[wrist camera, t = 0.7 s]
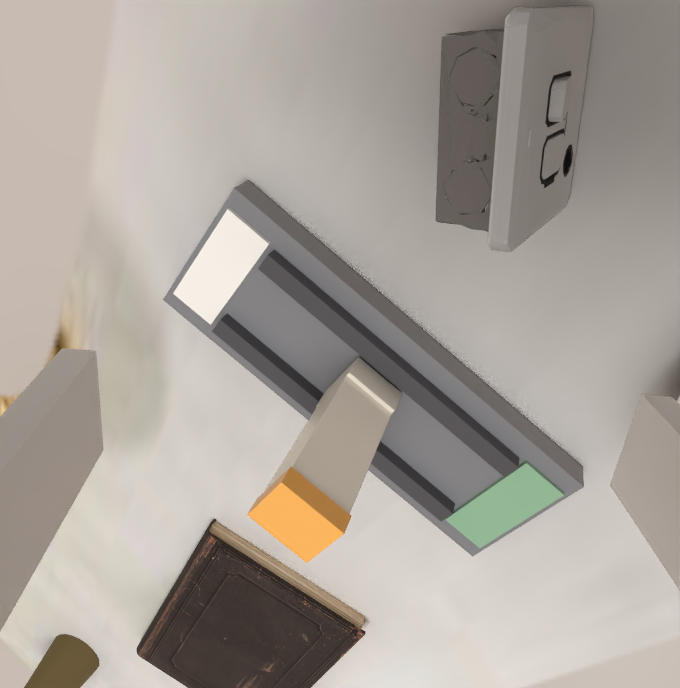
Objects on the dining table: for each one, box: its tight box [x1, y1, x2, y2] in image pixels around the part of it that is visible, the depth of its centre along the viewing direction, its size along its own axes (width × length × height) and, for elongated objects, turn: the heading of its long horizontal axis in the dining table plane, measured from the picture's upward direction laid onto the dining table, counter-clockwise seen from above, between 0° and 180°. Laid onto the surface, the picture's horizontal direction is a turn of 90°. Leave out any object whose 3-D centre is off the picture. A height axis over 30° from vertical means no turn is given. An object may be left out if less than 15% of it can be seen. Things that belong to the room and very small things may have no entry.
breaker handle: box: [247, 357, 402, 563], centre depth 34 cm, size 4×4×12 cm
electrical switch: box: [436, 6, 594, 252], centre depth 28 cm, size 9×5×9 cm, turn 2°
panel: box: [163, 180, 584, 556], centre depth 40 cm, size 10×28×3 cm, turn 53°
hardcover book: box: [137, 519, 365, 688], centre depth 59 cm, size 16×23×2 cm
